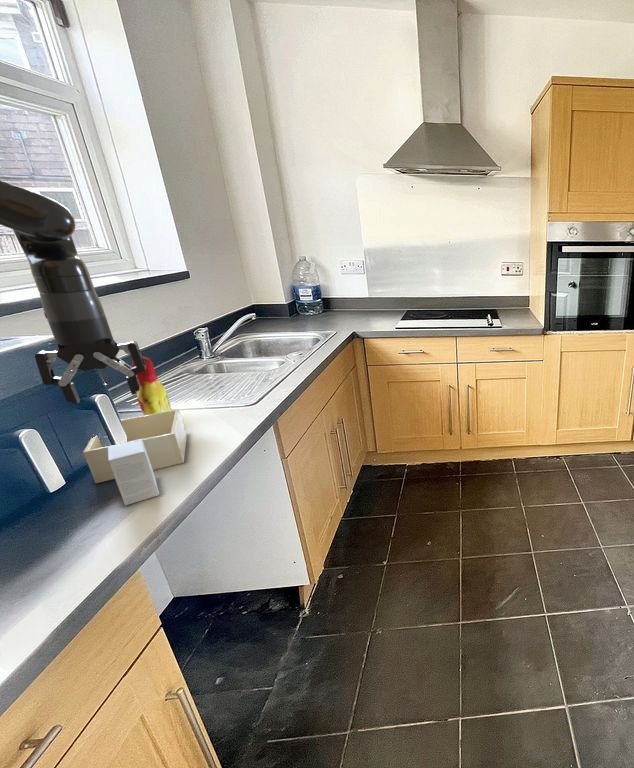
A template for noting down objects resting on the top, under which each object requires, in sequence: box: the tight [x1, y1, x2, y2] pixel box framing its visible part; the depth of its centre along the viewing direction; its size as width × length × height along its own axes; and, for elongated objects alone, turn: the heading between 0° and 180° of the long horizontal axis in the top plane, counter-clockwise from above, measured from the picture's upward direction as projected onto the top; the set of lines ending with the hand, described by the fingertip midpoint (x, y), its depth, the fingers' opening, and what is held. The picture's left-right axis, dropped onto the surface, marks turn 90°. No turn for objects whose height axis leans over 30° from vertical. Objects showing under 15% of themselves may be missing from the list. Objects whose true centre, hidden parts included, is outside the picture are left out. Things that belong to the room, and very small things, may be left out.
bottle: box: [131, 356, 172, 416], centre depth 117 cm, size 12×6×20 cm, turn 30°
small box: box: [108, 439, 160, 506], centre depth 86 cm, size 8×6×10 cm
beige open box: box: [82, 408, 188, 484], centre depth 101 cm, size 16×18×8 cm
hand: (106, 398), depth 81 cm, fingers open, 8 cm apart
